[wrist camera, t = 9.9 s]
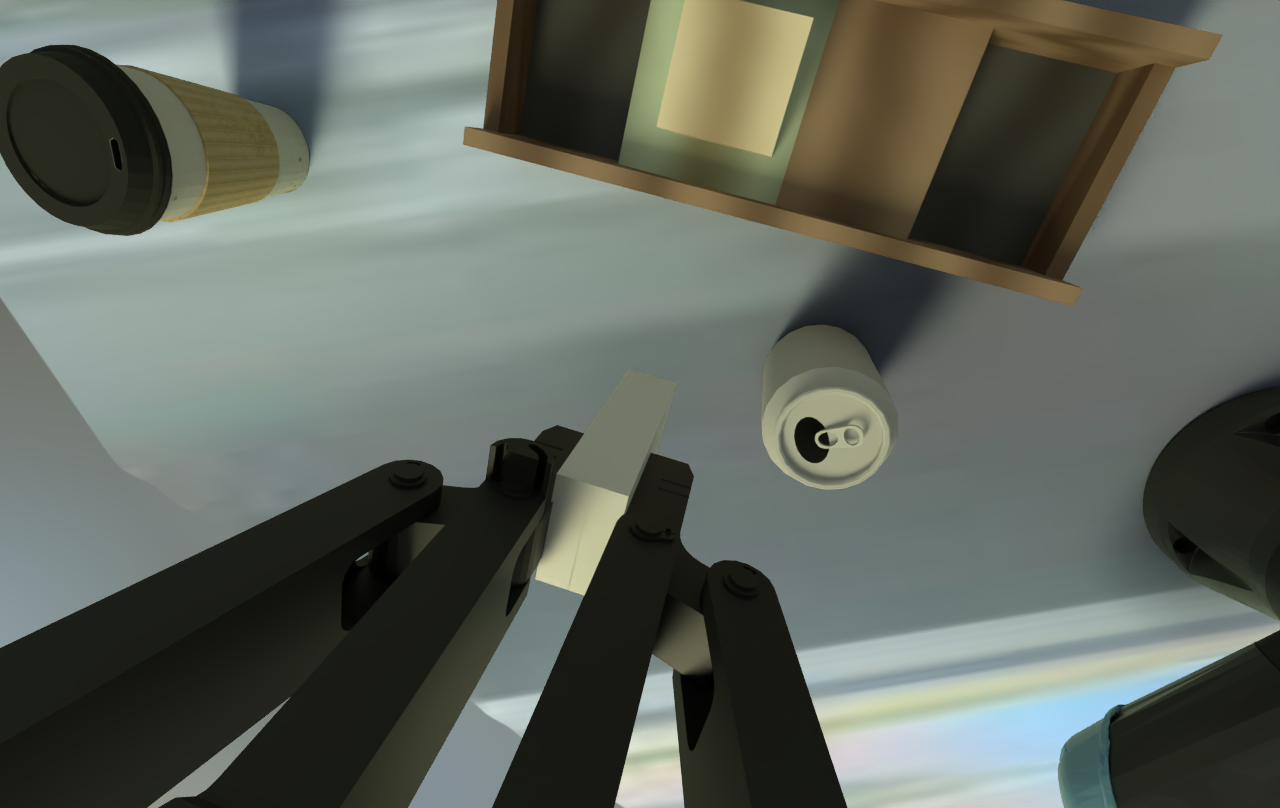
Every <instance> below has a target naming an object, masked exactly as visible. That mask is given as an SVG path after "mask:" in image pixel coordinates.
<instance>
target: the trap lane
mask: <svg viewBox="0 0 1280 808" xmlns="http://www.w3.org/2000/svg"><path fill="white" fill-rule="evenodd" d="M684 1H685V0H497V9H496V18H495V27H494V36H493V45H492V54H491V63H490V72H489V82H488V91H487V100H486V109H485V118H484V127H483V129H481V128H473V127H465V130H464V141H463V144H464V145H467V146H471V147H475V148H479V149H482V150H486V151H490V152H494V153H497V154H501V155H505V156H509V157H513V158H516V159H520V160H524V161H528V162H531V163H535V164H539V165H543V166H547V167H550V168H554V169H558V170H562V171H565V172H569V173H573V174H577V175H580V176H584V177H588V178H592V179H596V180H599V181H603V182H607V183H611V184H614V185H618V186H622V187H626V188H629V189H633V190H637V191H641V192H645V193H648V194H652V195H656V196H660V197H663V198H667V199H671V200H675V201H678V202H682V203H686V204H690V205H694V206H697V207H701V208H705V209H709V210H712V211H716V212H720V213H724V214H728V215H731V216H735V217H739V218H743V219H746V220H750V221H754V222H758V223H761V224H765V225H769V226H773V227H777V228H780V229H784V230H788V231H792V232H795V233H799V234H803V235H807V236H810V237H814V238H818V239H822V240H826V241H829V242H833V243H837V244H841V245H844V246H848V247H852V248H856V249H859V250H863V251H867V252H871V253H875V254H878V255H882V256H886V257H890V258H893V259H897V260H901V261H905V262H909V263H912V264H916V265H920V266H924V267H927V268H931V269H935V270H939V271H942V272H946V273H950V274H954V275H958V276H961V277H965V278H969V279H973V280H976V281H980V282H984V283H988V284H991V285H995V286H999V287H1003V288H1007V289H1010V290H1014V291H1018V292H1022V293H1025V294H1029V295H1033V296H1037V297H1040V298H1044V299H1048V300H1052V301H1056V302H1059V303H1063V304H1067V305H1071V306H1074V304H1075V302H1076V300H1077V299H1078V297H1079V295H1080V293H1081V291H1082V290H1083V288H1080V287H1078V286H1075V285H1073V284H1070V283H1068V282H1065V281H1063V278H1064V276H1065V274H1066V272H1067V271H1068V269H1069V267H1070V265H1071V263H1072V261H1073V259H1074V257H1075V256H1076V254H1077V252H1078V250H1079V248H1080V246H1081V244H1082V242H1083V240H1084V239H1085V237H1086V235H1087V233H1088V231H1089V229H1090V227H1091V225H1092V224H1093V222H1094V220H1095V218H1096V216H1097V214H1098V212H1099V210H1100V209H1101V207H1102V205H1103V203H1104V201H1105V199H1106V197H1107V195H1108V194H1109V192H1110V190H1111V188H1112V186H1113V184H1114V182H1115V180H1116V179H1117V177H1118V175H1119V173H1120V171H1121V169H1122V167H1123V165H1124V164H1125V162H1126V160H1127V158H1128V156H1129V154H1130V152H1131V150H1132V149H1133V147H1134V145H1135V143H1136V141H1137V139H1138V137H1139V135H1140V134H1141V132H1142V130H1143V128H1144V126H1145V124H1146V122H1147V120H1148V119H1149V117H1150V115H1151V113H1152V111H1153V109H1154V107H1155V105H1156V103H1157V102H1158V100H1159V98H1160V96H1161V94H1162V92H1163V90H1164V88H1165V87H1166V85H1167V83H1168V81H1169V79H1170V77H1171V75H1172V73H1173V72H1174V70H1175V68H1176V67H1180V66H1184V65H1189V64H1193V63H1197V62H1201V61H1206V60H1209V59H1210V57H1211V55H1212V54H1213V52H1214V50H1215V48H1216V46H1217V44H1218V43H1219V41H1220V39H1221V37H1222V35H1220V34H1215V33H1211V32H1206V31H1202V30H1197V29H1193V28H1188V27H1183V26H1179V25H1174V24H1170V23H1165V22H1160V21H1156V20H1151V19H1147V18H1142V17H1138V16H1133V15H1128V14H1124V13H1119V12H1115V11H1110V10H1105V9H1101V8H1096V7H1092V6H1087V5H1082V4H1078V3H1073V2H1069V1H1064V0H740V1H745V2H749V3H753V4H757V5H762V6H766V7H770V8H774V9H779V10H783V11H787V12H791V13H796V14H800V15H804V16H808V17H813V18H814V19H813V22H812V26H811V29H810V32H809V36H808V39H807V43H806V46H805V49H804V52H803V56H802V59H801V62H800V66H799V69H798V72H797V75H796V79H795V82H794V85H793V89H792V92H791V95H790V98H789V102H788V105H787V108H786V112H785V115H784V118H783V121H782V125H781V128H780V131H779V135H778V138H777V141H776V144H775V148H774V151H773V154H772V158H771V157H767V156H763V155H759V154H755V153H752V152H748V151H744V150H740V149H736V148H732V147H728V146H724V145H721V144H717V143H713V142H709V141H705V140H701V139H697V138H694V137H690V136H686V135H682V134H678V133H674V132H671V131H668V130H665V129H662V128H659V127H656V126H657V121H658V117H659V113H660V108H661V104H662V99H663V95H664V90H665V86H666V81H667V77H668V72H669V68H670V64H671V59H672V55H673V50H674V46H675V41H676V37H677V32H678V28H679V23H680V19H681V14H682V10H683V6H684Z"/></svg>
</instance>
